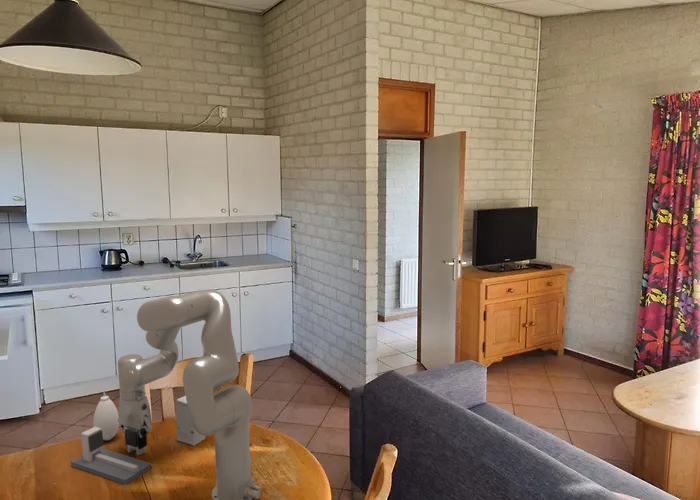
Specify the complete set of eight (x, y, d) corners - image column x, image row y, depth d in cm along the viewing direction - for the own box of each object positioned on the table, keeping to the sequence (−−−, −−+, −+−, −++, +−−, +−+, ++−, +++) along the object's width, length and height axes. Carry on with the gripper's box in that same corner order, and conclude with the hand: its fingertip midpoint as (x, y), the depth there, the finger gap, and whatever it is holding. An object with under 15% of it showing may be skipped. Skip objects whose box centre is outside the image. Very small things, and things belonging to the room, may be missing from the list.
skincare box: (176, 440, 181) (174, 399, 179) (189, 433, 186) (187, 393, 184) (195, 446, 177) (192, 404, 175) (207, 438, 182) (205, 397, 180)
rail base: (151, 467, 164) (149, 436, 163) (125, 484, 155) (123, 452, 154) (98, 451, 174) (96, 421, 173) (71, 466, 165) (68, 435, 164)
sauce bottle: (111, 445, 178) (107, 395, 175) (90, 443, 179) (86, 393, 177) (124, 434, 186) (121, 385, 183) (104, 432, 187) (100, 384, 184)
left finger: (135, 448, 176) (133, 423, 175) (146, 451, 174) (144, 426, 173) (126, 453, 173) (124, 428, 172) (137, 456, 171) (135, 431, 169)
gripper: (160, 393, 170) (164, 445, 173) (123, 384, 178) (127, 435, 180) (142, 402, 164) (146, 456, 166) (104, 392, 171) (108, 445, 174)
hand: (136, 444), depth 173 cm, fingers open, 5 cm apart
